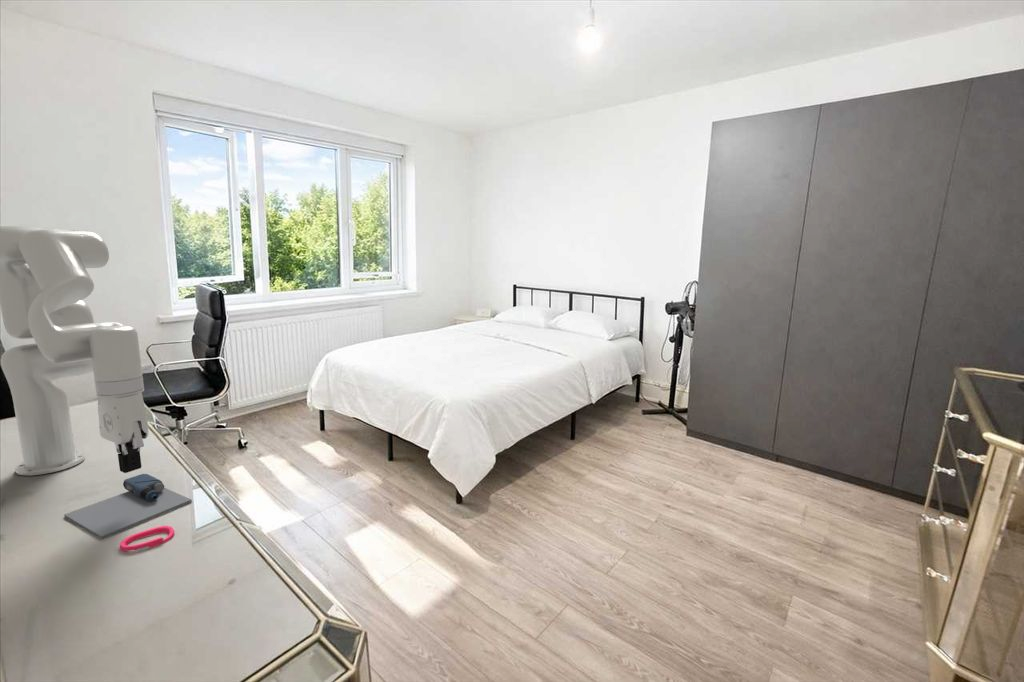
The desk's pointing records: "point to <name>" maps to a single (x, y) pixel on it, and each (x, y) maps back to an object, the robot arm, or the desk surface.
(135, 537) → the fitness band
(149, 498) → the vaping device
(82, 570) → the desk surface
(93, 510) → the mat
